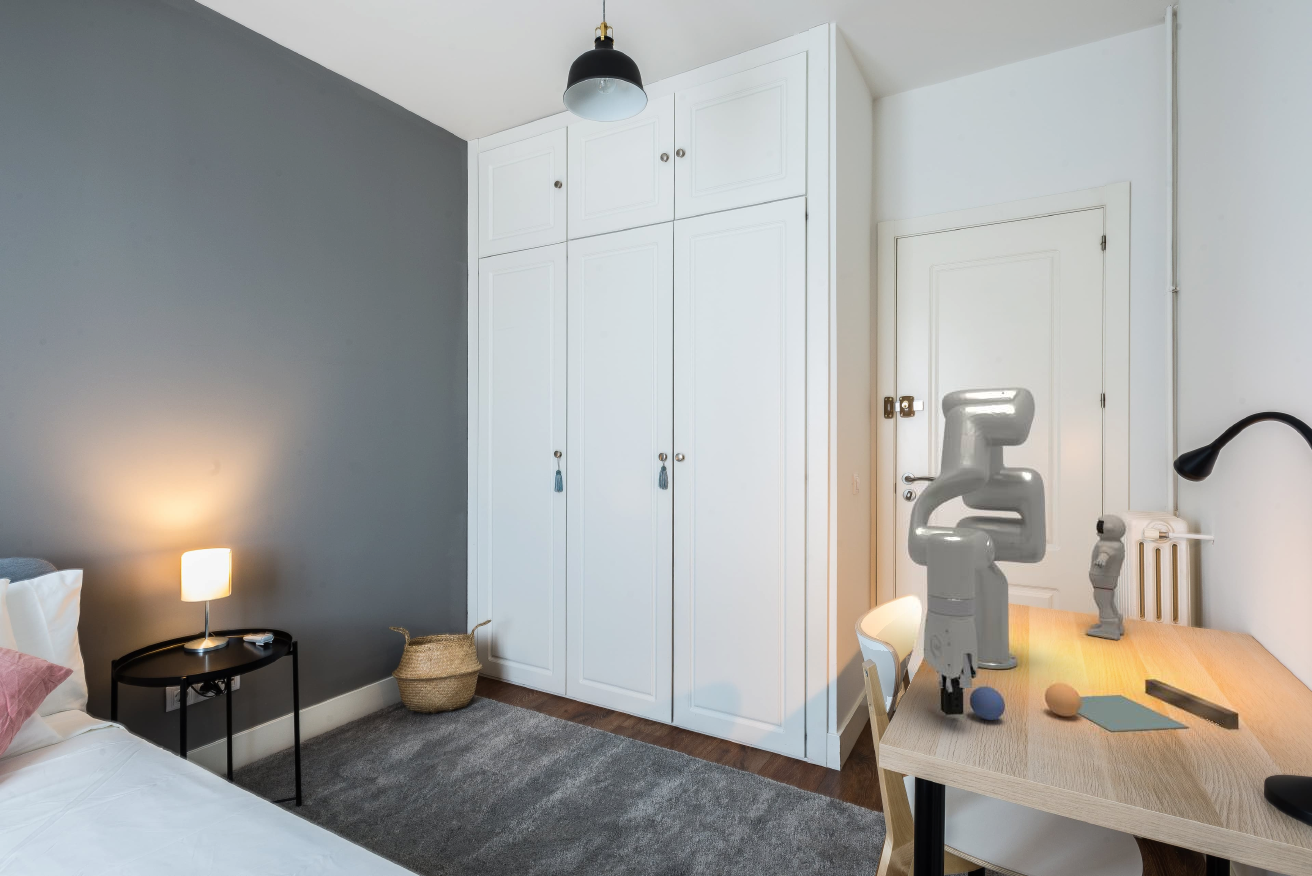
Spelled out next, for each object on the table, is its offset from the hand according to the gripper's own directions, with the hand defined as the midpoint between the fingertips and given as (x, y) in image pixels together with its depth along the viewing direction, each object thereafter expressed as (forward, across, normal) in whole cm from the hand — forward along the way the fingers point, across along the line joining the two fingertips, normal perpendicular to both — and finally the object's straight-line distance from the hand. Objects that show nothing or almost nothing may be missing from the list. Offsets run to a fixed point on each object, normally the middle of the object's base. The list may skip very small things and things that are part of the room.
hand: (952, 712), depth 111 cm
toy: (+2, -45, +65) cm, 80 cm away
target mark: (+1, -1, +30) cm, 30 cm away
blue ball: (-1, 0, +6) cm, 6 cm away
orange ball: (-1, 0, +20) cm, 20 cm away
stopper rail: (+1, -1, +44) cm, 44 cm away
